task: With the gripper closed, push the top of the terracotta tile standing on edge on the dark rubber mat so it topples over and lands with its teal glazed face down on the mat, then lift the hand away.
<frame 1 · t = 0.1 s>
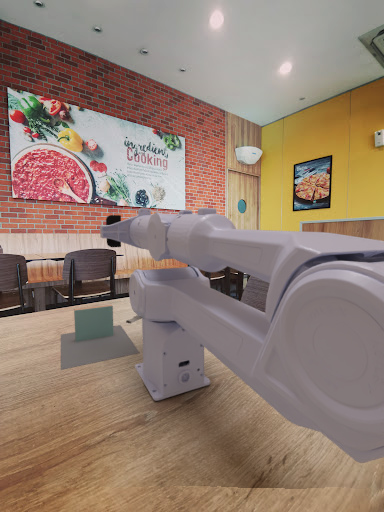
hand: (132, 229, 53), 22 cm above the table, tool horizontal, fingers open, 7 cm apart
mat: (96, 344, 48), on the table
tile: (94, 337, 51), resting on mat
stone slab: (144, 315, 69), on the table
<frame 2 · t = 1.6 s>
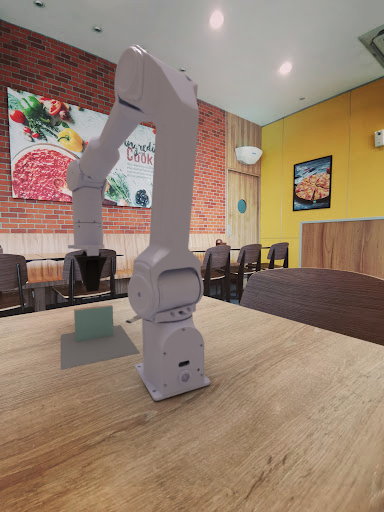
hand: (90, 288, 55), 9 cm above the table, tool pointing down, fingers open, 7 cm apart
nothing on the table moved.
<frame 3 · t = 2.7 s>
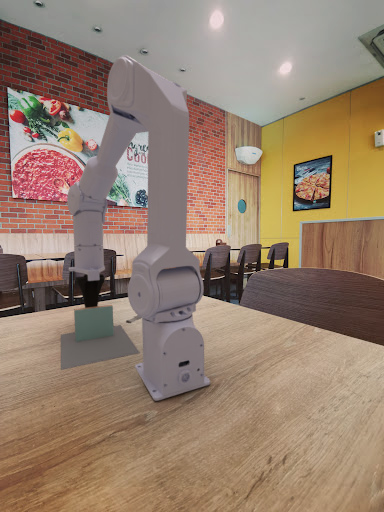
hand: (91, 309, 55), 5 cm above the table, tool pointing down, fingers closed
nothing on the table moved.
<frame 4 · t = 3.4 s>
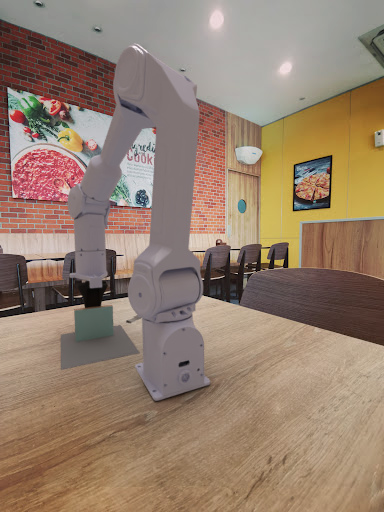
hand: (93, 317, 52), 4 cm above the table, tool pointing down, fingers closed
tile: (94, 337, 51), resting on mat, touching gripper
everything else where it was.
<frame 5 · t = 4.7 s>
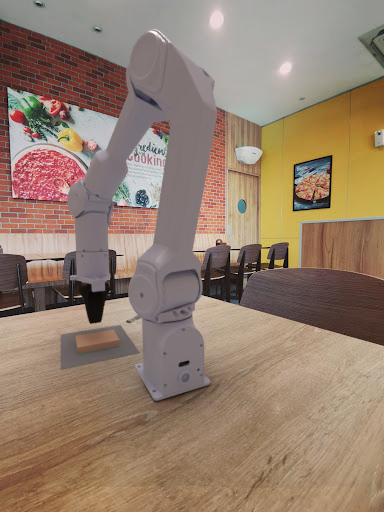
hand: (95, 322, 49), 4 cm above the table, tool pointing down, fingers closed
tile: (95, 335, 50), point 1 cm above the table, tilted 90°, touching mat
everything else where it was.
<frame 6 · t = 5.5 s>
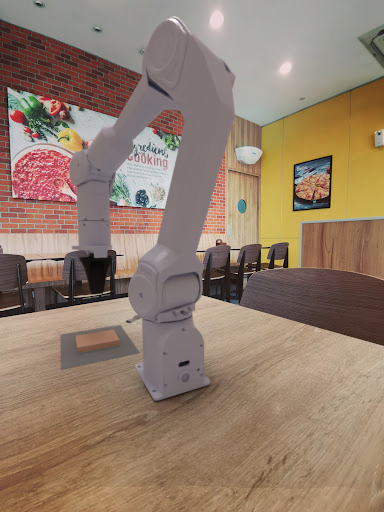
hand: (96, 293, 49), 9 cm above the table, tool pointing down, fingers closed
nothing on the table moved.
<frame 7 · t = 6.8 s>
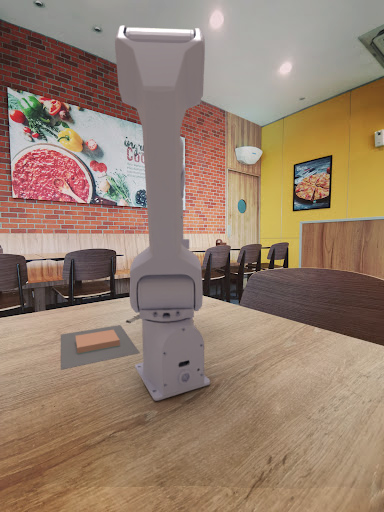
hand: (171, 281, 56), 10 cm above the table, tool pointing down, fingers closed
nothing on the table moved.
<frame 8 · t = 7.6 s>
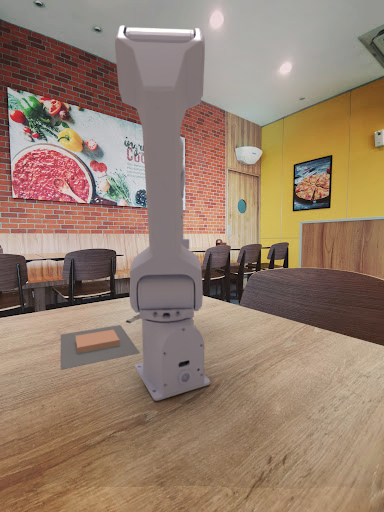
hand: (171, 281, 56), 10 cm above the table, tool pointing down, fingers closed
nothing on the table moved.
at the end: tile tilted 90°; tile inside the target area (2.3 cm from its centre), point 1.0 cm above the table; the gripper is holding nothing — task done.
